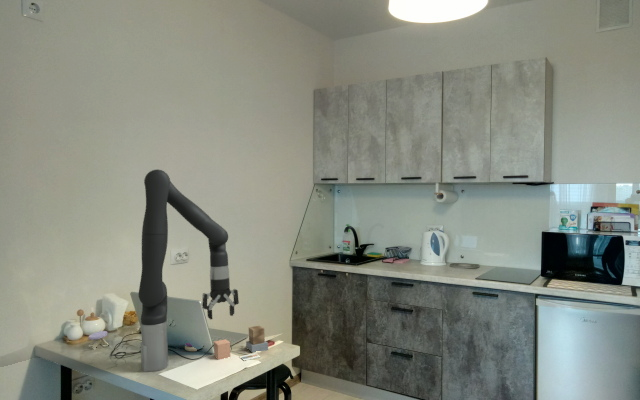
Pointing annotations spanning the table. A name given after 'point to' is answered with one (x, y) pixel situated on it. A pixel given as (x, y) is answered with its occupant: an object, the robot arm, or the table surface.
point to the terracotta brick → (222, 349)
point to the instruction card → (250, 356)
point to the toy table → (98, 338)
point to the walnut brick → (256, 335)
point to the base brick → (257, 346)
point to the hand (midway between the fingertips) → (221, 317)
